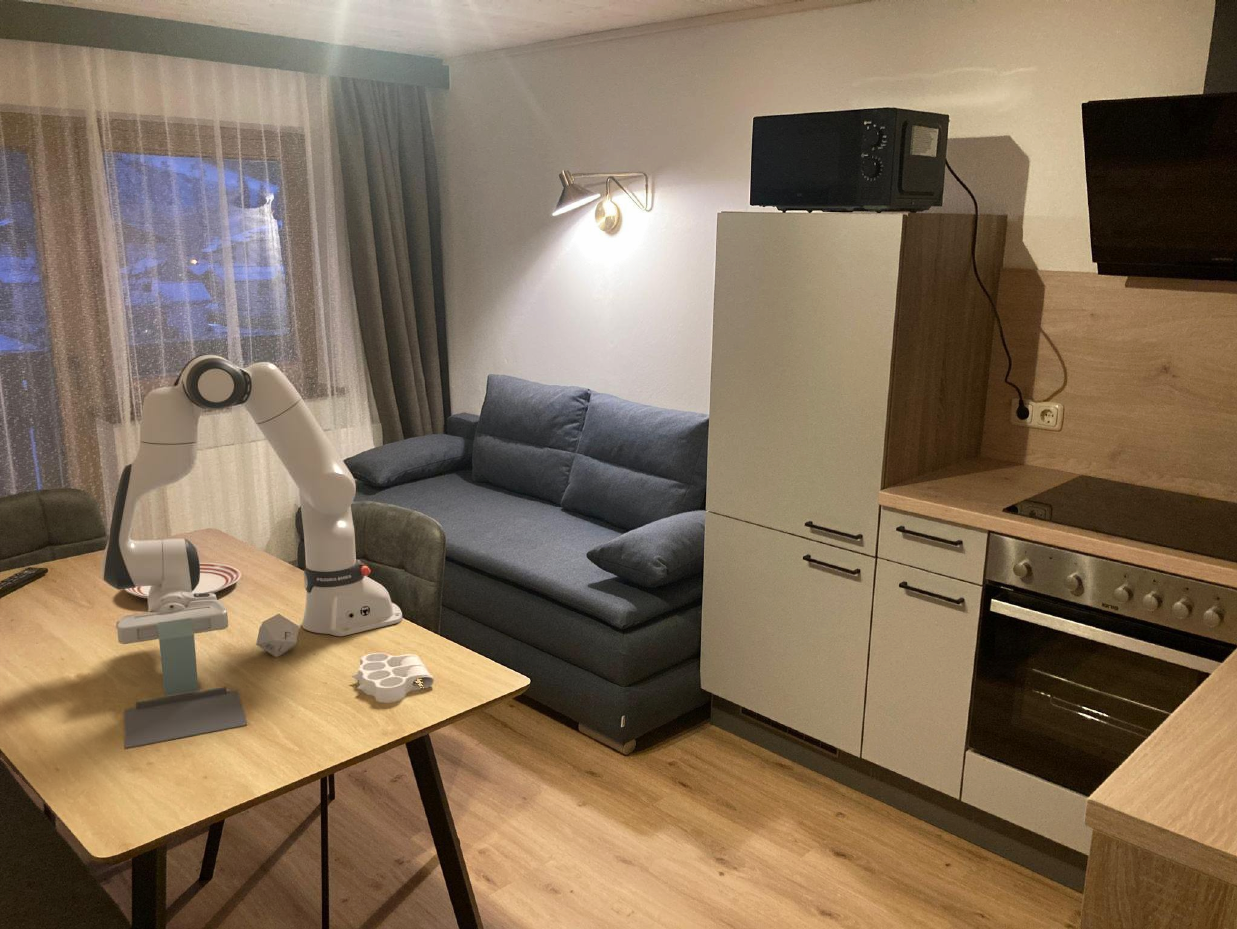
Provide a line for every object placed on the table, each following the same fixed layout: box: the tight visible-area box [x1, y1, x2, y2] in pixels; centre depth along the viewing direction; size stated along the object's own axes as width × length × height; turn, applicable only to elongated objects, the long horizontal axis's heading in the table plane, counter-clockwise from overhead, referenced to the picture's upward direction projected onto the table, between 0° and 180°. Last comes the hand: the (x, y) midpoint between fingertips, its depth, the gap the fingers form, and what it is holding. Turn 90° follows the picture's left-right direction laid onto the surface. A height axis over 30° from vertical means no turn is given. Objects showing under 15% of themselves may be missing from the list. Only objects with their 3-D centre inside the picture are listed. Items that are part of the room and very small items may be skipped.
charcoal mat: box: [124, 686, 248, 750], centre depth 183 cm, size 20×16×1 cm
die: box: [255, 613, 299, 658], centre depth 212 cm, size 8×9×10 cm
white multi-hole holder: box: [350, 652, 435, 704], centre depth 199 cm, size 3×18×15 cm
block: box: [158, 618, 199, 697], centre depth 191 cm, size 6×6×14 cm
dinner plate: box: [123, 562, 242, 600], centre depth 250 cm, size 28×27×3 cm
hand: (175, 637), depth 192 cm, fingers closed
